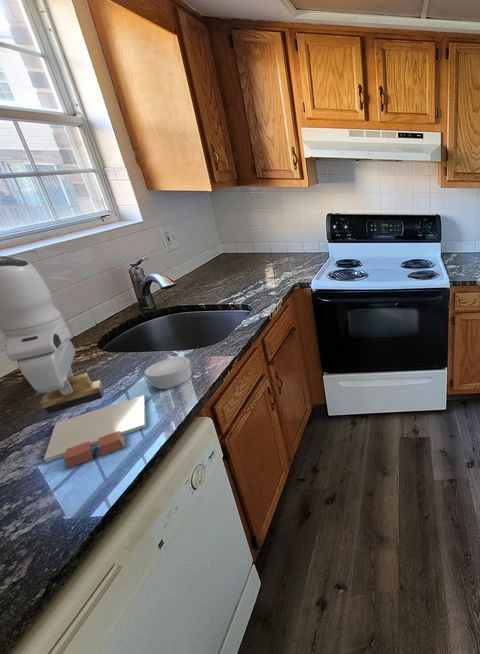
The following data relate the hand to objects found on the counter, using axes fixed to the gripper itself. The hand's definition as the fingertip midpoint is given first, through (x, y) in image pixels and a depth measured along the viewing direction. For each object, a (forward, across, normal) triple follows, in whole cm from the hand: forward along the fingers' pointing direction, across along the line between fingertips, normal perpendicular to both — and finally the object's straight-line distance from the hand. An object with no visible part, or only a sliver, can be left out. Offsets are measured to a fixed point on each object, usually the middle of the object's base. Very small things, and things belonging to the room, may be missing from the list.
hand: (69, 389), depth 81 cm
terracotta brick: (+15, +6, +3) cm, 16 cm away
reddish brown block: (+15, +6, -2) cm, 16 cm away
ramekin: (+15, -19, +16) cm, 29 cm away
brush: (+4, 0, 0) cm, 4 cm away
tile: (+15, -6, 0) cm, 16 cm away
